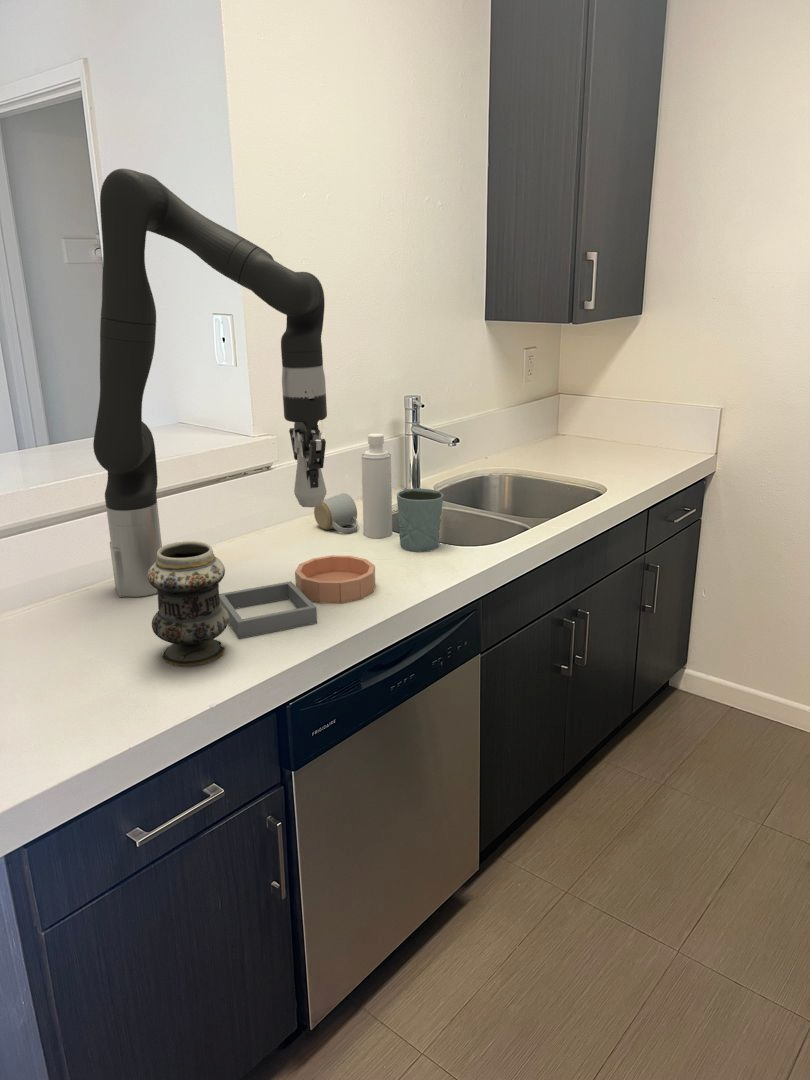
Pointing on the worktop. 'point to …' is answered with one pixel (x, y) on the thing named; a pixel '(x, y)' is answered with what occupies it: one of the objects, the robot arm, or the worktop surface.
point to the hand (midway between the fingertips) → (310, 487)
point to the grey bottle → (376, 489)
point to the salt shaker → (307, 484)
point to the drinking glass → (419, 519)
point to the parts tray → (268, 622)
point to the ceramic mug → (337, 513)
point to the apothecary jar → (188, 603)
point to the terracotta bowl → (335, 578)
